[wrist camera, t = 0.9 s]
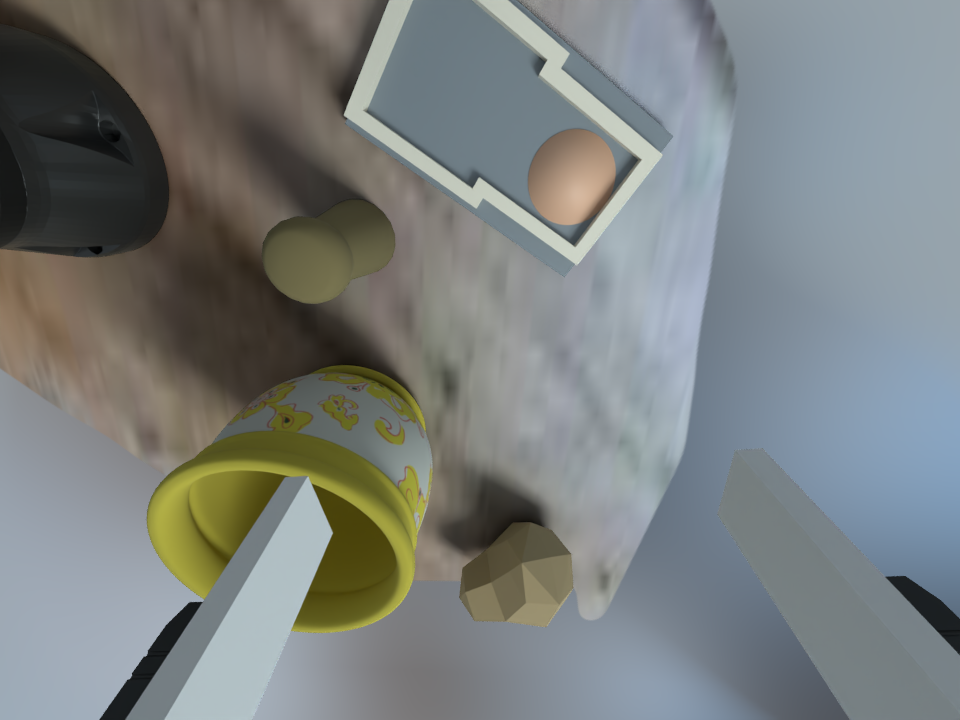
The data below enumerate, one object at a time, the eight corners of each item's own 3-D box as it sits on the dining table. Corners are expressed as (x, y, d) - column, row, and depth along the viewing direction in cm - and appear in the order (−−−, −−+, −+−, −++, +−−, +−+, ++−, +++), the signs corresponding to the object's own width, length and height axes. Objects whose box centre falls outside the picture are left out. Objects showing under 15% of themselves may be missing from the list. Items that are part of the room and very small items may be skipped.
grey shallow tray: (350, 125, 28) (340, 122, 26) (429, -69, 23) (423, -87, 21) (562, 274, 32) (565, 279, 30) (667, 137, 27) (678, 135, 25)
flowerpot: (406, 501, 45) (360, 659, 30) (260, 441, 42) (132, 586, 27) (474, 391, 38) (458, 531, 23) (303, 309, 34) (158, 410, 20)
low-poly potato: (569, 494, 44) (484, 512, 38) (617, 599, 37) (523, 638, 32) (514, 537, 54) (440, 556, 48) (544, 625, 47) (463, 659, 42)
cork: (324, 191, 30) (237, 200, 20) (399, 208, 30) (349, 225, 20) (323, 265, 32) (246, 305, 23) (392, 280, 33) (345, 326, 23)
